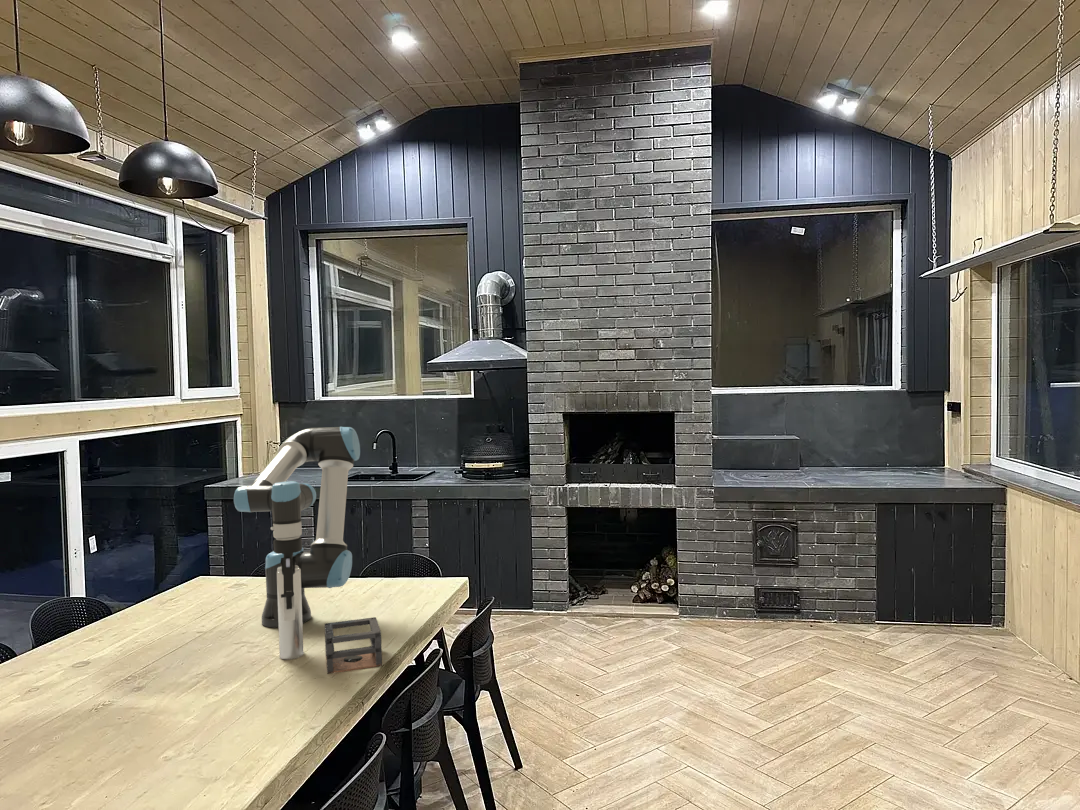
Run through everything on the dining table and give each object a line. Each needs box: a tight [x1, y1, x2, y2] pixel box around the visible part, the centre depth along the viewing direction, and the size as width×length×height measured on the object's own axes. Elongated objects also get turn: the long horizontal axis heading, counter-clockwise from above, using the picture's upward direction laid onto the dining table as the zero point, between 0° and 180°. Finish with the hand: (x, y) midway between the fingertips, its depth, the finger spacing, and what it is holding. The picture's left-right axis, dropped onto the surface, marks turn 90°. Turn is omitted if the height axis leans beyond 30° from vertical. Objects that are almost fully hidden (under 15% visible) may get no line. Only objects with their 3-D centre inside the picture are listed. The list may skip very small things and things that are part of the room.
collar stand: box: [324, 616, 383, 675], centre depth 194 cm, size 14×14×9 cm
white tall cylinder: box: [277, 565, 305, 661], centre depth 199 cm, size 6×6×25 cm
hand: (290, 613), depth 199 cm, fingers open, 13 cm apart
